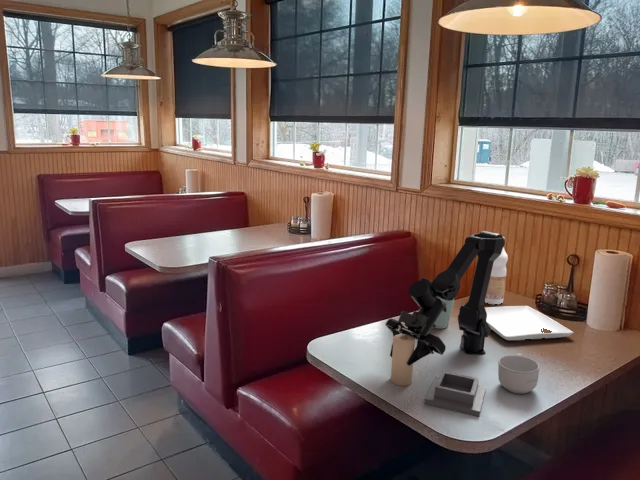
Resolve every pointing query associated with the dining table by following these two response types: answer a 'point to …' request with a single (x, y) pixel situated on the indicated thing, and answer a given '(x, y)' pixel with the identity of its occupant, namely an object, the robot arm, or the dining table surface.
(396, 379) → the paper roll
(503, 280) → the fruit juice
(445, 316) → the disposable coffee cup
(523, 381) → the teacup
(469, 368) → the dining table surface
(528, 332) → the square plate
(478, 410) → the roll caddy
